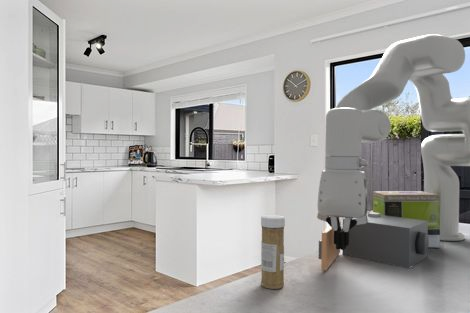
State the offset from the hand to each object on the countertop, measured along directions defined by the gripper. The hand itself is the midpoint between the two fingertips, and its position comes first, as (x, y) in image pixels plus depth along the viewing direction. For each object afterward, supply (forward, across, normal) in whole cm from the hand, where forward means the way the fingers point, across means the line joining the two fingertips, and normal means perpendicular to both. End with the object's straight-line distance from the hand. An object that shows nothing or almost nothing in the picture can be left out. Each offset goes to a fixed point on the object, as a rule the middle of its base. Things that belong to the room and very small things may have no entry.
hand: (341, 248), depth 80 cm
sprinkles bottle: (+5, +9, +16) cm, 20 cm away
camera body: (+5, -7, -17) cm, 19 cm away
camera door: (+4, +3, -4) cm, 7 cm away
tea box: (+5, -11, -33) cm, 35 cm away
